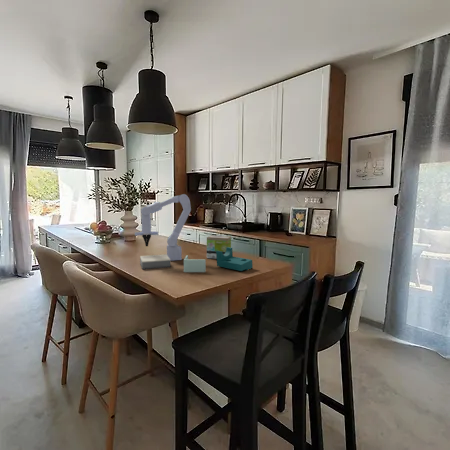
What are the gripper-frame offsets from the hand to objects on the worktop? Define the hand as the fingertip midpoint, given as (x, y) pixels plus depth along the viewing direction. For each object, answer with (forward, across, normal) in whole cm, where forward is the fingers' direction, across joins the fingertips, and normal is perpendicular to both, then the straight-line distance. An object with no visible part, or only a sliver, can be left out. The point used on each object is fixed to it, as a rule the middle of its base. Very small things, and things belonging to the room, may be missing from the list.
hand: (146, 246), depth 184 cm
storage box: (+9, -3, +16) cm, 19 cm away
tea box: (+10, -47, +8) cm, 49 cm away
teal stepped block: (+10, -46, +38) cm, 60 cm away
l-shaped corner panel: (+10, -24, +33) cm, 42 cm away
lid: (+5, -3, +16) cm, 17 cm away
